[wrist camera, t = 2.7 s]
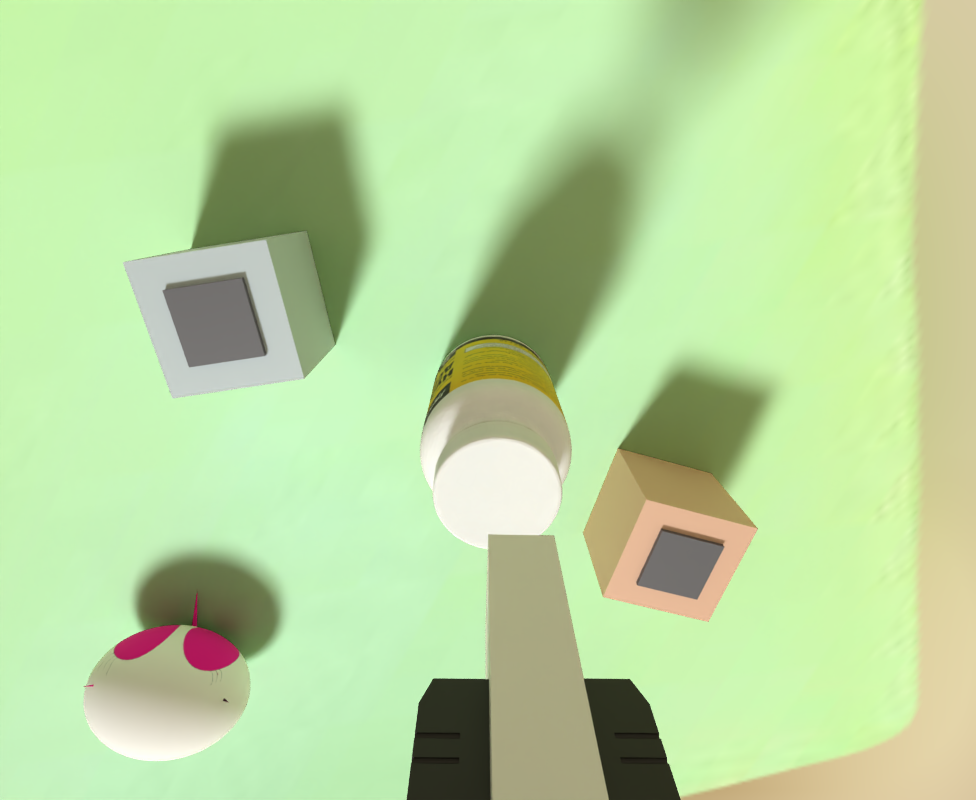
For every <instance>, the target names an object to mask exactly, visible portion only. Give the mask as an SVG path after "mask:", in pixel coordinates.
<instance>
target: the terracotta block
mask: <svg viewBox="0 0 976 800" xmlns="http://www.w3.org/2000/svg"><path fill="white" fill-rule="evenodd" d="M757 529H758V528H757V527H756V526H755V525H754V524H753V522H752V521H751V520H750V519H749V518H748V516H747V515H746V514H745V513H744V512H743V510H742V509H741V508H740V507H739V506H738V504H737V503H736V502H735V501H734V500H733V498H732V497H731V496H730V495H729V494H728V493H727V491H726V490H725V489H724V488H723V487H722V485H721V484H720V483H719V482H718V481H717V479H716V478H715V477H714V476H713V475H712V473H708V472H704V471H701V470H697V469H693V468H689V467H686V466H682V465H678V464H675V463H671V462H667V461H663V460H660V459H656V458H652V457H649V456H645V455H641V454H637V453H634V452H630V451H626V450H623V449H619V448H618V449H617V452H616V454H615V456H614V459H613V461H612V464H611V466H610V469H609V471H608V473H607V476H606V478H605V481H604V483H603V485H602V488H601V490H600V493H599V495H598V498H597V500H596V502H595V505H594V507H593V510H592V512H591V515H590V517H589V519H588V522H587V524H586V527H585V529H584V532H583V534H584V538H585V541H586V544H587V547H588V550H589V554H590V557H591V560H592V563H593V566H594V569H595V573H596V576H597V579H598V582H599V585H600V589H601V592H602V595H603V597H606V598H610V599H614V600H618V601H623V602H627V603H631V604H635V605H640V606H644V607H648V608H652V609H657V610H661V611H665V612H669V613H673V614H678V615H682V616H686V617H690V618H695V619H699V620H703V621H707V622H708V621H709V619H710V617H711V616H712V614H713V612H714V610H715V608H716V606H717V604H718V602H719V601H720V599H721V597H722V595H723V593H724V591H725V589H726V587H727V586H728V584H729V582H730V580H731V578H732V576H733V574H734V572H735V570H736V569H737V567H738V565H739V563H740V561H741V559H742V557H743V555H744V554H745V552H746V550H747V548H748V546H749V544H750V542H751V540H752V539H753V537H754V535H755V533H756V531H757Z"/></svg>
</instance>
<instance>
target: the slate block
mask: <svg viewBox="0 0 976 800" xmlns="http://www.w3.org/2000/svg"><path fill="white" fill-rule="evenodd" d="M123 264H124V267H125V270H126V272H127V275H128V278H129V281H130V283H131V286H132V289H133V292H134V294H135V297H136V300H137V303H138V305H139V308H140V311H141V313H142V316H143V319H144V322H145V324H146V327H147V330H148V333H149V335H150V338H151V341H152V344H153V346H154V349H155V352H156V354H157V357H158V360H159V363H160V365H161V368H162V371H163V374H164V376H165V379H166V382H167V385H168V387H169V390H170V393H171V396H172V398H178V397H185V396H192V395H198V394H205V393H212V392H218V391H225V390H232V389H238V388H245V387H252V386H259V385H265V384H272V383H279V382H285V381H292V380H299V379H304V378H305V377H306V376H307V375H308V374H309V373H310V372H311V371H312V370H313V369H314V368H315V366H316V365H317V364H318V363H319V362H320V361H321V360H322V359H323V358H324V357H325V356H326V355H327V353H328V352H329V351H330V350H331V349H332V348H333V347H334V346H335V341H334V337H333V334H332V330H331V326H330V322H329V318H328V314H327V310H326V306H325V302H324V298H323V294H322V290H321V286H320V282H319V278H318V274H317V270H316V266H315V262H314V258H313V254H312V250H311V246H310V242H309V238H308V234H307V231H301V232H295V233H288V234H282V235H276V236H269V237H263V238H257V239H250V240H244V241H238V242H231V243H225V244H219V245H212V246H206V247H200V248H193V249H188V250H183V251H178V252H173V253H167V254H162V255H157V256H152V257H147V258H142V259H137V260H132V261H127V262H123Z"/></svg>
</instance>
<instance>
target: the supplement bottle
mask: <svg viewBox="0 0 976 800" xmlns="http://www.w3.org/2000/svg"><path fill="white" fill-rule="evenodd" d="M571 452H572V449H571V439H570V434H569V430H568V426H567V423H566V420H565V417H564V415H563V412H562V409H561V406H560V403H559V400H558V397H557V395H556V392H555V389H554V386H553V383H552V380H551V378H550V375H549V373H548V370H547V368H546V366H545V365H544V363H543V361H542V360H541V358H540V357H539V356H538V355H537V353H536V352H535V351H534V350H532V349H531V348H530V347H529V346H527V345H526V344H524V343H522V342H521V341H519V340H516V339H514V338H511V337H507V336H501V335H485V336H480V337H476V338H473V339H470V340H468V341H465V342H463V343H462V344H460V345H459V346H457V347H456V348H455V349H453V350H452V351H451V352H450V353H449V354H448V356H447V357H446V358H445V359H444V361H443V362H442V364H441V366H440V368H439V370H438V373H437V375H436V378H435V382H434V386H433V390H432V395H431V399H430V403H429V408H428V412H427V416H426V419H425V423H424V427H423V432H422V437H421V444H420V458H421V465H422V470H423V473H424V476H425V478H426V480H427V482H428V484H429V486H430V488H431V489H432V490H433V501H434V506H435V509H436V512H437V514H438V516H439V518H440V520H441V522H442V523H443V524H444V526H445V527H446V528H447V529H448V530H449V531H450V532H451V533H452V534H453V535H454V536H456V537H457V538H459V539H460V540H462V541H464V542H466V543H468V544H470V545H473V546H476V547H480V548H485V549H488V534H497V535H541V534H542V533H543V532H544V531H545V530H546V529H547V528H548V527H549V526H550V525H551V523H552V522H553V520H554V519H555V517H556V515H557V513H558V511H559V508H560V504H561V500H562V484H563V482H564V481H565V479H566V476H567V474H568V471H569V467H570V463H571Z"/></svg>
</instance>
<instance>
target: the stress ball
mask: <svg viewBox="0 0 976 800" xmlns="http://www.w3.org/2000/svg"><path fill="white" fill-rule="evenodd" d="M84 687H86V688H85V693H84V712H85V716H86V719H87V722H88V724H89V726H90V728H91V730H92V731H93V733H94V734H95V735H96V737H97V738H98V739H99V740H100V741H101V742H102V743H103V744H105V745H106V746H107V747H109V748H110V749H112V750H114V751H116V752H117V753H119V754H122V755H124V756H127V757H130V758H134V759H139V760H146V761H165V760H173V759H178V758H183V757H186V756H189V755H192V754H195V753H197V752H200V751H202V750H204V749H206V748H207V747H209V746H211V745H213V744H214V743H216V742H217V741H218V740H220V739H221V738H222V737H223V736H224V735H226V734H227V733H228V732H229V731H230V730H231V729H232V728H233V726H234V725H235V724H236V723H237V721H238V720H239V718H240V717H241V715H242V713H243V711H244V709H245V707H246V705H247V702H248V698H249V694H250V674H249V670H248V666H247V664H246V661H245V659H244V658H243V656H242V654H241V653H240V652H239V650H238V649H237V648H236V647H235V646H234V645H233V644H232V643H231V642H230V641H228V640H227V639H226V638H224V637H223V636H221V635H219V634H217V633H215V632H213V631H210V630H207V629H204V628H200V627H197V595H196V602H195V608H194V615H193V621H192V626H189V625H167V626H160V627H155V628H151V629H148V630H144V631H142V632H139V633H136V634H134V635H132V636H130V637H128V638H126V639H125V640H123V641H121V642H120V643H118V644H117V645H116V646H114V647H113V648H112V649H110V650H109V651H108V652H107V653H106V654H105V655H104V656H103V657H102V659H101V660H100V661H99V662H98V663H97V665H96V666H95V668H94V669H93V671H92V673H91V675H90V676H89V679H88V682H87V684H86V686H84Z"/></svg>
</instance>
